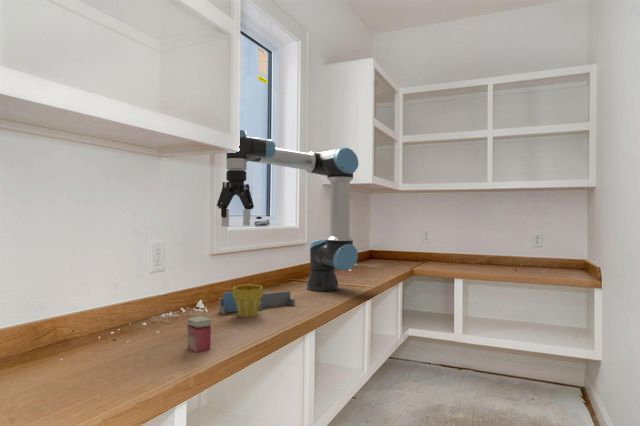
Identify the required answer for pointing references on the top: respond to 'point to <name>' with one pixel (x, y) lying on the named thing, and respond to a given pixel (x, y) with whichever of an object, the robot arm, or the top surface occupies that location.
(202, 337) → the small box
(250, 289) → the plant pot
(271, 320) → the top surface
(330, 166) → the robot arm
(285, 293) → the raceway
